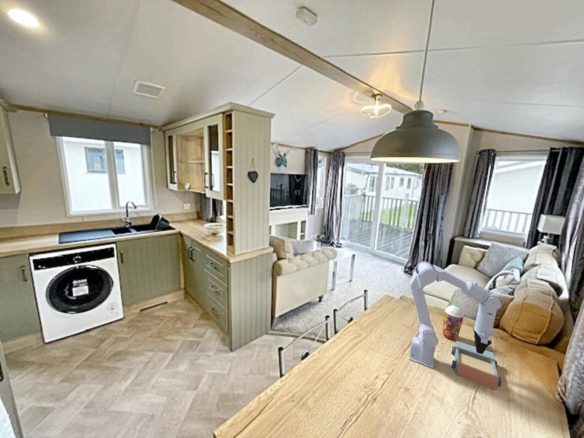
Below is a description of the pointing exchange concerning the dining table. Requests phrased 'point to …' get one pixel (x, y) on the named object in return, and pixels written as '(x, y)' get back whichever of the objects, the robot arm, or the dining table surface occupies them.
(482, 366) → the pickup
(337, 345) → the dining table surface
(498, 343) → the dining table surface
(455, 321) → the smoothie
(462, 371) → the tailgate
